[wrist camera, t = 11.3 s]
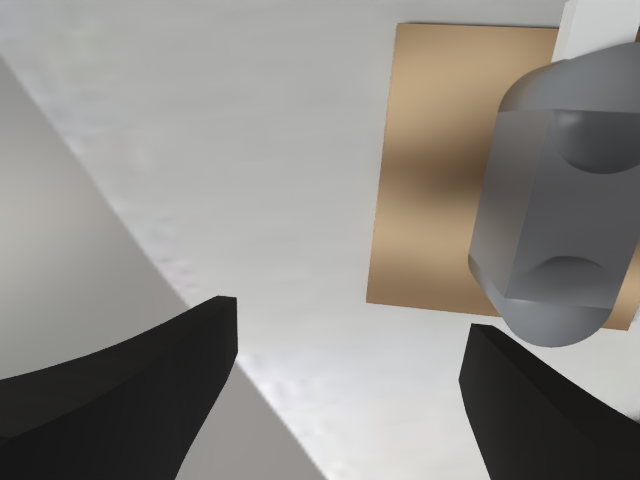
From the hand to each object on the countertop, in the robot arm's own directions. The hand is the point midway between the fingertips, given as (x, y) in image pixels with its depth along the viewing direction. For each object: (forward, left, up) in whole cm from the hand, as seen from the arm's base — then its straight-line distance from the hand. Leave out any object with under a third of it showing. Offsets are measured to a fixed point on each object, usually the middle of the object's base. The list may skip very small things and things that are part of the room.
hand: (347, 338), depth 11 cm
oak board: (+4, -8, -9) cm, 13 cm away
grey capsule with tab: (+4, -8, -9) cm, 12 cm away
